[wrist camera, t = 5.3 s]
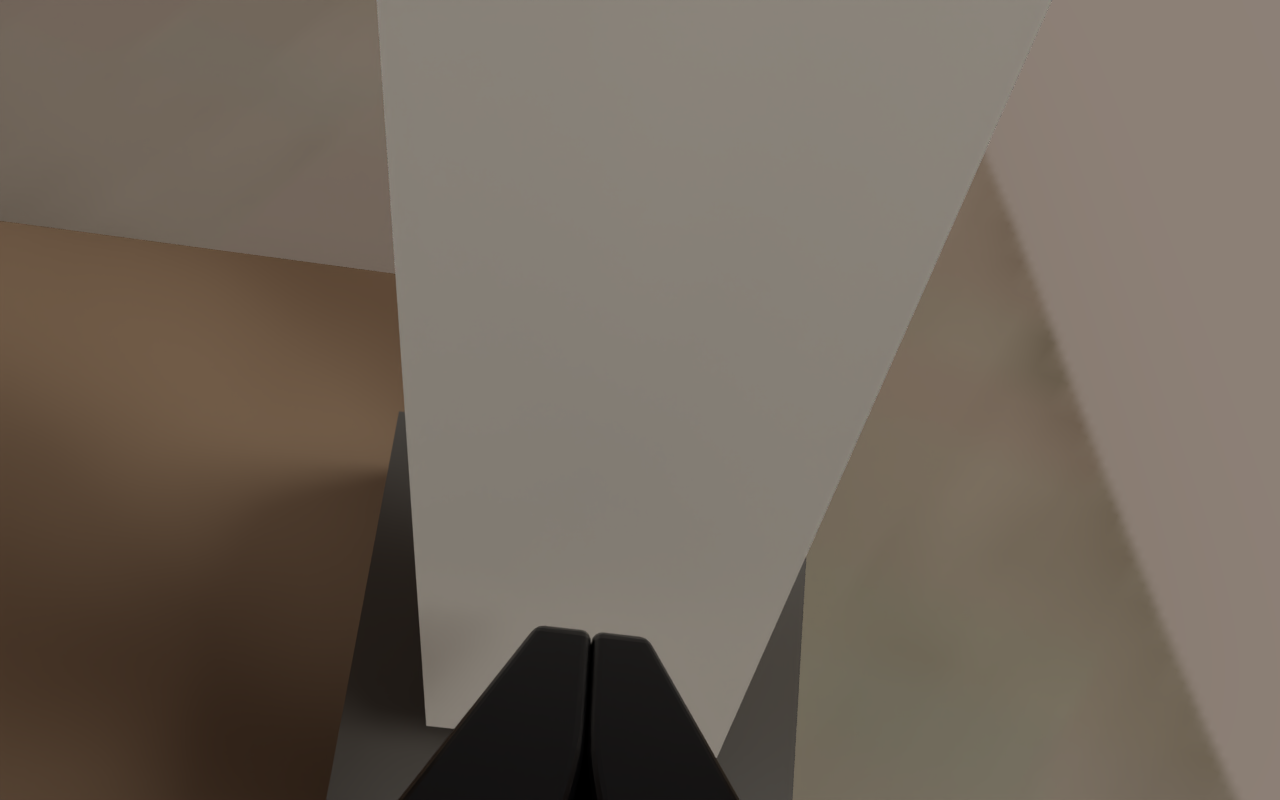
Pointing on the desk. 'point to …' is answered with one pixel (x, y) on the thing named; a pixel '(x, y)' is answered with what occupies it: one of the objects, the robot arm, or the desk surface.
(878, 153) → the lever
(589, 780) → the robot arm
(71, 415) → the switch board
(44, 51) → the desk surface
